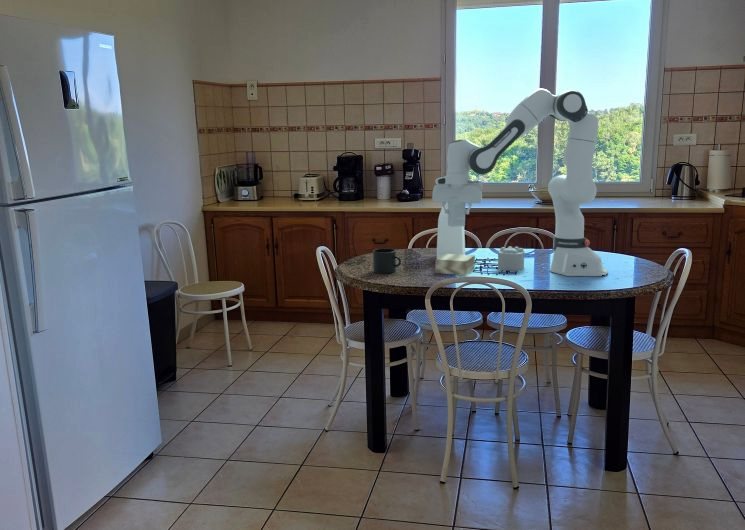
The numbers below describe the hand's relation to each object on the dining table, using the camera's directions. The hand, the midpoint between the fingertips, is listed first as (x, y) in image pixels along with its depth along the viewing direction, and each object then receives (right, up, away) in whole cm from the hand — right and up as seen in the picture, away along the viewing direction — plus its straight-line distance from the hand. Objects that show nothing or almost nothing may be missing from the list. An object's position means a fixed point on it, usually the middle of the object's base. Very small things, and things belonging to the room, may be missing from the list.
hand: (456, 213), depth 267 cm
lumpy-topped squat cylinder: (+25, -22, +10) cm, 34 cm away
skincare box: (0, -5, +1) cm, 5 cm away
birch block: (0, -24, +5) cm, 24 cm away
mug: (-28, -24, +5) cm, 38 cm away
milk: (+2, -17, +35) cm, 39 cm away
